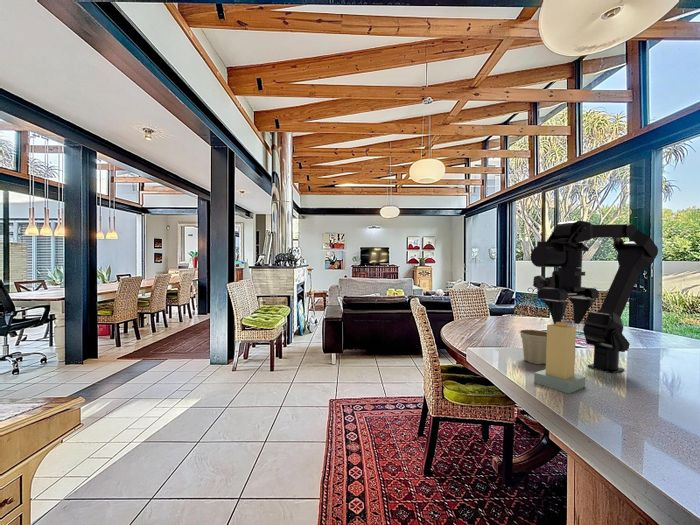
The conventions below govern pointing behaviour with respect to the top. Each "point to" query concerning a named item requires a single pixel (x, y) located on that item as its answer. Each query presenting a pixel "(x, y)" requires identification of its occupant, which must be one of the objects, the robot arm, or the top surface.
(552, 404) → the top surface
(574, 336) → the tower brick
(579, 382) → the plinth brick
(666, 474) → the top surface
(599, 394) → the top surface
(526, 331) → the flower pot
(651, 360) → the top surface
